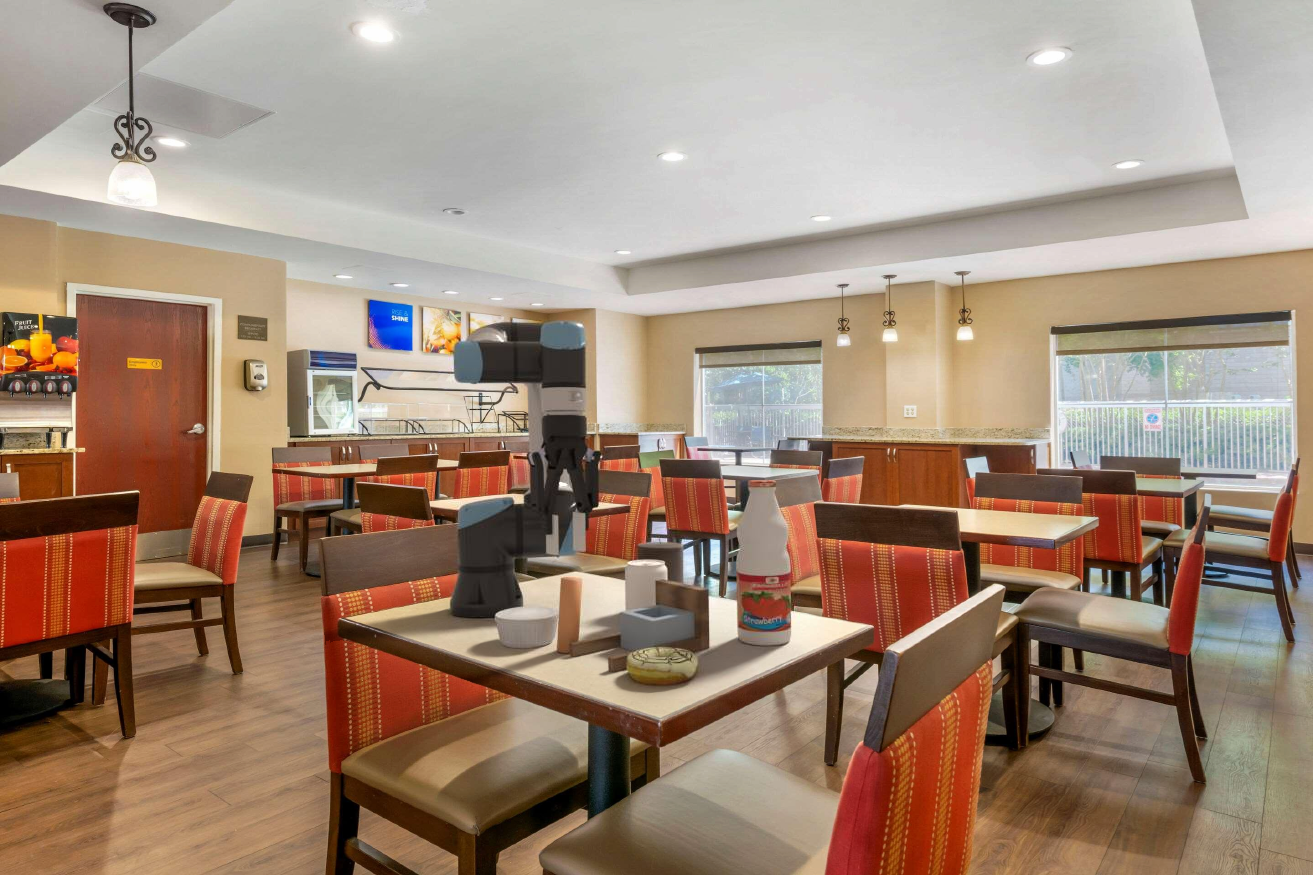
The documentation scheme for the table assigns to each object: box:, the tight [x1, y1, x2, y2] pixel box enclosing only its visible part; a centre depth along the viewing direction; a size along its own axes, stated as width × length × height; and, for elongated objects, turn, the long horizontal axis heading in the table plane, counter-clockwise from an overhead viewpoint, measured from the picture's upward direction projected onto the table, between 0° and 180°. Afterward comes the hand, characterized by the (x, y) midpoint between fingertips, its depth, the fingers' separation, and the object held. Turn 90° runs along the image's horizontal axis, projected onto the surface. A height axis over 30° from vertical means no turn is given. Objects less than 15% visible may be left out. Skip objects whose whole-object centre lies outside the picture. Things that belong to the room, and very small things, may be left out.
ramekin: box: [494, 605, 559, 649], centre depth 134 cm, size 11×11×5 cm
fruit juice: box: [735, 479, 792, 647], centre depth 133 cm, size 9×9×28 cm
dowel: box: [556, 576, 583, 654], centre depth 128 cm, size 4×4×12 cm
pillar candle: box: [636, 537, 684, 584], centre depth 157 cm, size 10×10×15 cm
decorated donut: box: [626, 647, 699, 686], centre depth 114 cm, size 10×11×4 cm
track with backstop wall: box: [569, 579, 711, 673], centre depth 127 cm, size 12×20×10 cm, turn 129°
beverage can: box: [624, 559, 667, 611], centre depth 145 cm, size 8×8×12 cm
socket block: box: [619, 604, 695, 652], centre depth 129 cm, size 9×9×6 cm
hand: (566, 552), depth 128 cm, fingers open, 5 cm apart
